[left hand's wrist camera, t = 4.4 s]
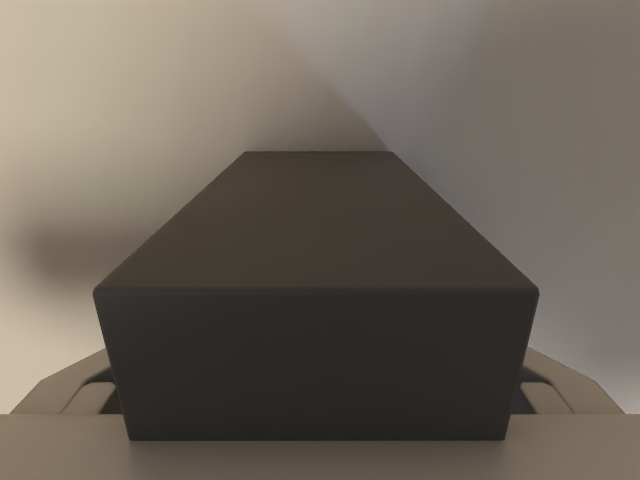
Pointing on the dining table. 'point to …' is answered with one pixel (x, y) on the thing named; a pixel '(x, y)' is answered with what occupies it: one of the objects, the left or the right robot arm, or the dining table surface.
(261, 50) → the dining table surface
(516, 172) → the dining table surface
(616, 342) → the dining table surface
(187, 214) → the bar
